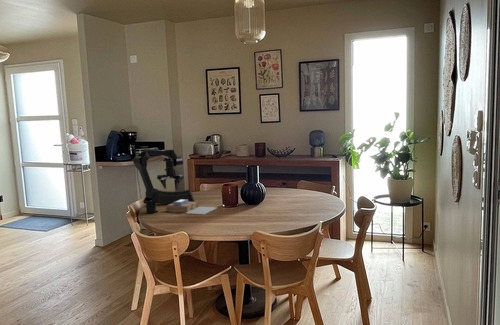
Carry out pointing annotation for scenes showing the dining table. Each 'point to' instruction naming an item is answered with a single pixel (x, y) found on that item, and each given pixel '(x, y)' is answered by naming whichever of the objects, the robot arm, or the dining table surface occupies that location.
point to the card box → (181, 202)
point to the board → (182, 207)
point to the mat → (201, 210)
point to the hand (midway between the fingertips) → (170, 189)
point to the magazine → (174, 196)
